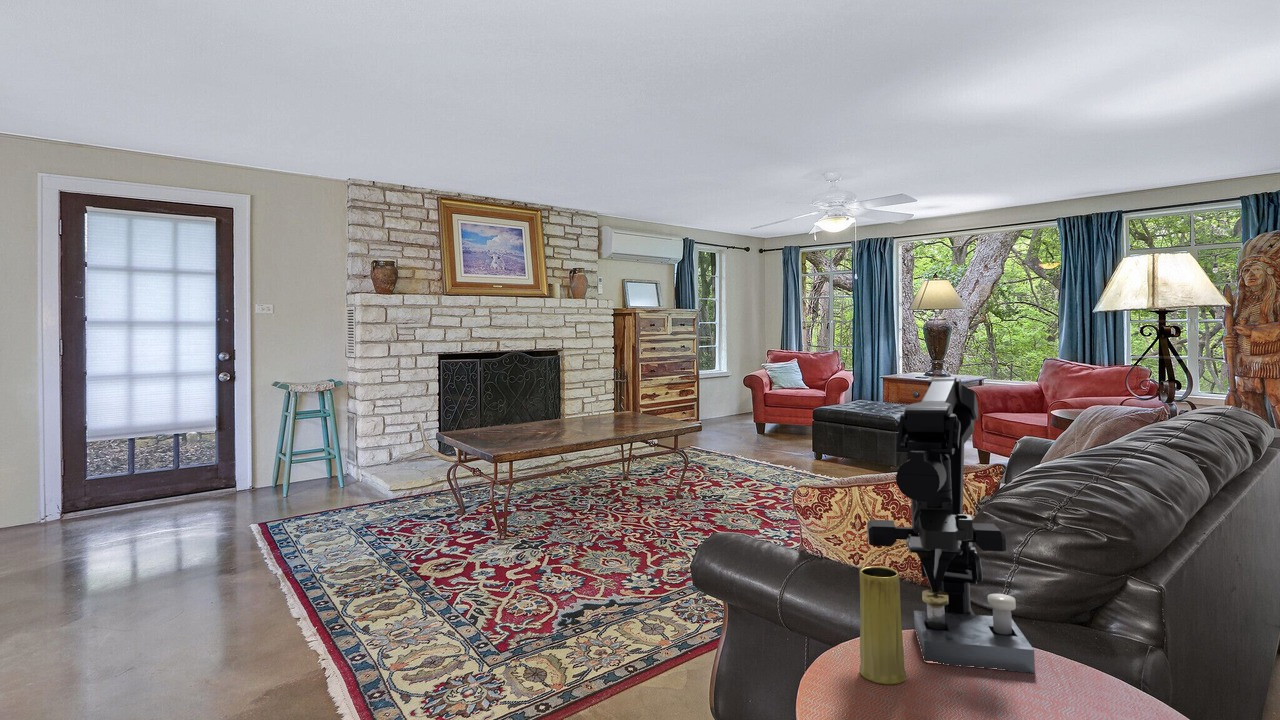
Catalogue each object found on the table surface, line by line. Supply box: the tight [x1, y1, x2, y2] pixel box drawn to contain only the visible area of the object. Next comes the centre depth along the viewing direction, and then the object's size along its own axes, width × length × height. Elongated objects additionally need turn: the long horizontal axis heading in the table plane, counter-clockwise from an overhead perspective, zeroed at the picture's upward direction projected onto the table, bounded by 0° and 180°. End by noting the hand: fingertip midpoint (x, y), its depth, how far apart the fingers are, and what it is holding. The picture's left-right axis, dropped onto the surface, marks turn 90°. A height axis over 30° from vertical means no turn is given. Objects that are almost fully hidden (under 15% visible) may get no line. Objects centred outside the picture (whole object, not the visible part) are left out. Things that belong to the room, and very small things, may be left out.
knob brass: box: [921, 589, 949, 629], centre depth 98 cm, size 4×4×5 cm
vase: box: [859, 565, 907, 686], centre depth 90 cm, size 6×6×14 cm
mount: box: [913, 610, 1036, 674], centre depth 96 cm, size 12×14×3 cm
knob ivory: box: [987, 593, 1017, 635], centre depth 95 cm, size 4×4×5 cm
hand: (935, 591), depth 98 cm, fingers closed
